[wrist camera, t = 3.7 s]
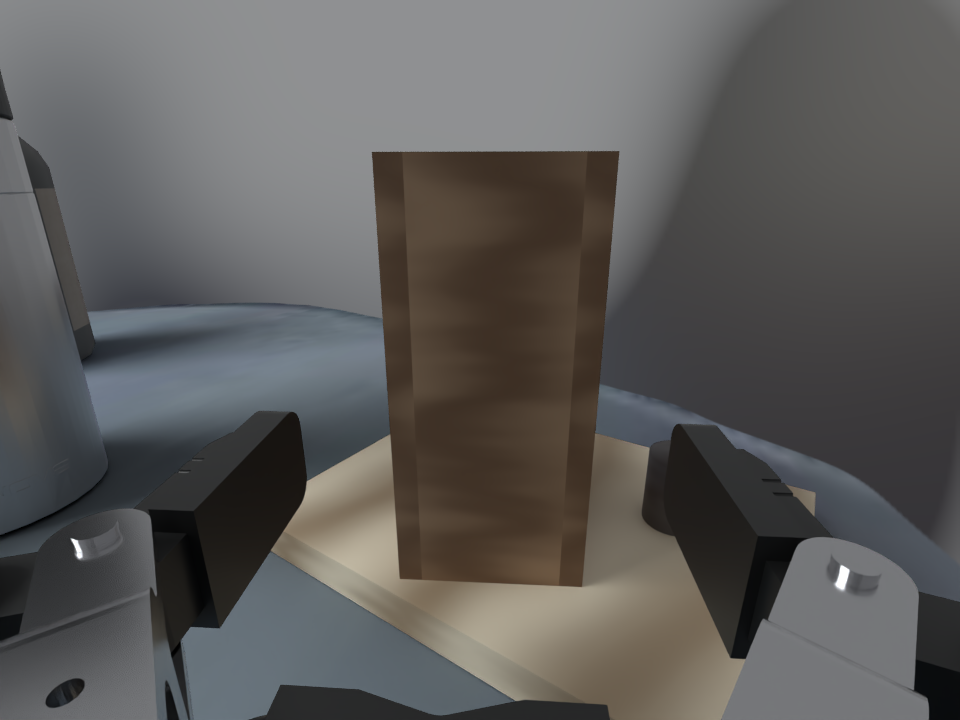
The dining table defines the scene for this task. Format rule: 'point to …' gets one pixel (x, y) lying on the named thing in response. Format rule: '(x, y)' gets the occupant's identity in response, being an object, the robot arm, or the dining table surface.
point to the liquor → (59, 248)
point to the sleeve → (493, 356)
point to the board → (539, 593)
